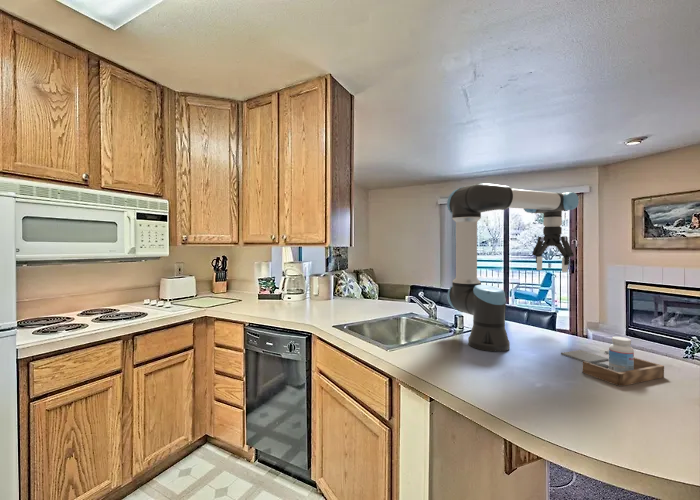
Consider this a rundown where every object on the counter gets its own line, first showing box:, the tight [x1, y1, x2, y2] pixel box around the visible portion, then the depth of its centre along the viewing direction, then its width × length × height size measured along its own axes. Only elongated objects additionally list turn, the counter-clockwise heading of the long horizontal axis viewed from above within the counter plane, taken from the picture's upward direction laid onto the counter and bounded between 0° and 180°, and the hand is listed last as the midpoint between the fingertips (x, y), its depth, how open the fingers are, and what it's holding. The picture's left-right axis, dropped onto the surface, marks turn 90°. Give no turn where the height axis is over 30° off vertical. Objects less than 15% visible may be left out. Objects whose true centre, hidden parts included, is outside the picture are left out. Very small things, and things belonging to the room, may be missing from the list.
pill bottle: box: [608, 336, 635, 372], centre depth 106 cm, size 6×6×11 cm
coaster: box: [560, 349, 609, 364], centre depth 122 cm, size 10×10×1 cm
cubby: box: [581, 356, 665, 387], centre depth 106 cm, size 20×11×4 cm, turn 110°
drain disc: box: [594, 362, 609, 369], centre depth 113 cm, size 4×4×1 cm
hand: (551, 270), depth 163 cm, fingers open, 13 cm apart
